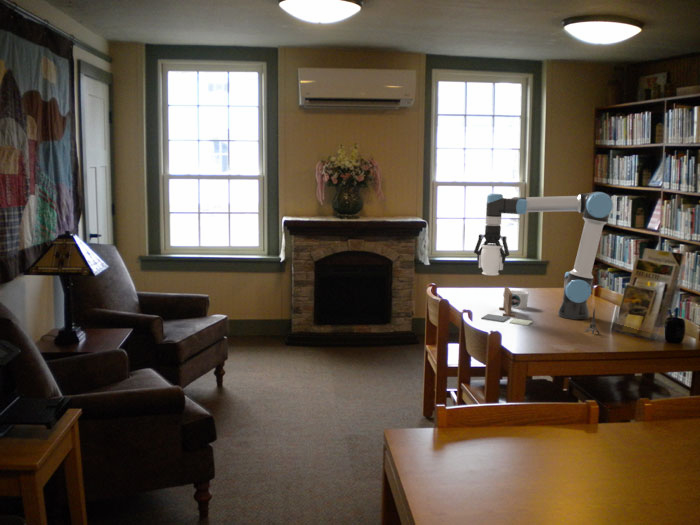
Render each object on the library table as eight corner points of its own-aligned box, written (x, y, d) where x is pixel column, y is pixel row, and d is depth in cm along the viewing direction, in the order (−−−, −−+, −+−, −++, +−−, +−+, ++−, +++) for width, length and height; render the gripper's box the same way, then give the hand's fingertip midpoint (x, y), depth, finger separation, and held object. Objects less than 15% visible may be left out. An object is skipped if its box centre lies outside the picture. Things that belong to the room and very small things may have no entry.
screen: (510, 309, 375) (512, 287, 374) (515, 316, 358) (516, 293, 356) (498, 308, 376) (500, 286, 374) (503, 316, 358) (504, 292, 356)
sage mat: (532, 322, 347) (532, 320, 347) (527, 325, 339) (527, 324, 339) (514, 319, 351) (514, 318, 351) (509, 323, 343) (509, 321, 343)
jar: (500, 273, 363) (502, 244, 360) (501, 276, 352) (503, 246, 350) (479, 272, 364) (480, 243, 362) (480, 275, 354) (481, 245, 352)
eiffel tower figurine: (577, 329, 338) (580, 302, 336) (600, 331, 336) (602, 303, 334) (581, 337, 323) (583, 308, 321) (604, 339, 321) (607, 310, 319)
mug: (529, 306, 386) (530, 291, 385) (525, 309, 376) (526, 294, 375) (504, 303, 391) (505, 289, 390) (500, 306, 382) (501, 292, 381)
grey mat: (509, 318, 355) (509, 316, 354) (503, 322, 345) (503, 320, 345) (487, 315, 360) (488, 313, 359) (481, 319, 350) (481, 317, 350)
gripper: (517, 226, 352) (515, 270, 355) (474, 222, 363) (471, 265, 367) (513, 227, 346) (510, 271, 349) (468, 223, 357) (466, 267, 360)
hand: (490, 268), depth 358 cm, fingers closed on jar, 10 cm apart
